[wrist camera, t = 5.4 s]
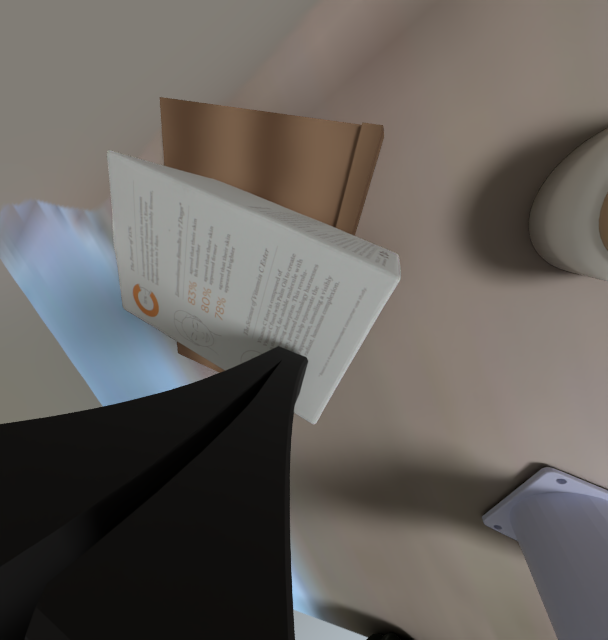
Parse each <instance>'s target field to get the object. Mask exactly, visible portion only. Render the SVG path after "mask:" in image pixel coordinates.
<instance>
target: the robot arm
mask: <svg viewBox="0 0 608 640" xmlns="http://www.w3.org/2000/svg"><path fill="white" fill-rule="evenodd" d="M307 364H308V359H307V357H305V356H302V355H300V354H297V353H295V352H292V351H290V350H287V349H285V348H282V347H280V346H278V347H275V348H273V349H271V350H269V351H267V352H265V353H263V354H261V355H259V356H257V357H254V358H252V359H250V360H248V361H246V362H244V363H241V364H239V365H237V366H235V367H233V368H230V369H228V370H225V371H223V372H220V373H218V374H215V375H213V376H210V377H208V378H205V379H203V380H200V381H197V382H194V383H191V384H188V385H185V386H182V387H178V388H175V389H172V390H169V391H165V392H162V393H158V394H154V395H150V396H146V397H142V398H138V399H134V400H130V401H126V402H122V403H118V404H113V405H109V406H104V407H99V408H94V409H89V410H84V411H80V412H74V413H68V414H63V415H57V416H51V417H46V418H39V419H32V420H26V421H19V422H12V423H6V424H0V640H295V634H294V616H293V597H292V576H291V549H290V451H291V435H292V423H293V415H294V407H295V403H296V401H297V398H298V396H299V394H300V390H301V386H302V383H303V379H304V375H305V372H306V368H307ZM482 520H483V523H484V524H485V525H486V526H488V527H490V528H492V529H494V530H496V531H498V532H500V533H502V534H504V535H506V536H508V537H510V538H512V539H514V540H516V541H518V542H519V545H520V547H521V550H522V552H523V555H524V557H525V560H526V562H527V564H528V567H529V569H530V572H531V574H532V577H533V579H534V582H535V584H536V587H537V589H538V592H539V594H540V596H541V599H542V601H543V604H544V606H545V609H546V611H547V614H548V616H549V619H550V621H551V624H552V626H553V628H554V631H555V633H556V636H557V638H558V640H608V490H605V489H603V488H601V487H598V486H596V485H593V484H591V483H588V482H586V481H584V480H581V479H579V478H576V477H574V476H571V475H569V474H567V473H564V472H562V471H559V470H557V469H554V468H551V467H545V468H542V469H540V470H539V471H538V472H537V473H536V474H534V475H533V476H532V477H531V478H529V479H528V480H527V481H526V482H524V483H523V484H522V485H521V486H519V487H518V488H517V489H516V490H514V491H513V492H512V493H511V494H509V495H508V496H507V497H506V498H504V499H503V500H502V501H501V502H499V503H498V504H497V505H496V506H494V507H493V508H492V509H491V510H489V511H488V512H487V513H486V514H484V515H483V516H482Z"/></svg>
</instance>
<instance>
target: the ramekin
mask: <svg viewBox="0 0 608 640" xmlns="http://www.w3.org/2000/svg"><path fill="white" fill-rule="evenodd" d="M529 235H530V239H531V242H532V244H533V246H534V248H535V250H536V251H537V253H538V254H539V255H540V256H541V257H542V258H543V259H544V260H545V261H547V262H548V263H550V264H551V265H553V266H555V267H557V268H559V269H562V270H565V271H569V272H572V273H576V274H580V275H584V276H588V277H592V278H596V279H600V280H604V281H608V128H607V129H605V130H603V131H602V132H600V133H598V134H597V135H595V136H593V137H592V138H590V139H589V140H587V141H586V142H584V143H583V144H582V145H580V146H579V147H578V148H576V149H575V150H574V151H573V152H572V153H570V154H569V155H568V156H567V157H566V158H565V159H564V160H563V161H562V162H561V163H560V164H559V165H558V166H557V167H556V168H555V169H554V170H553V172H552V173H551V174H550V175H549V176H548V178H547V179H546V181H545V182H544V183H543V185H542V186H541V188H540V190H539V192H538V194H537V195H536V197H535V200H534V202H533V205H532V208H531V212H530V216H529Z"/></svg>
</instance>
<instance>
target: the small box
mask: <svg viewBox="0 0 608 640" xmlns="http://www.w3.org/2000/svg"><path fill="white" fill-rule="evenodd" d="M107 160H108V170H109V179H110V193H111V203H112V215H113V223H112V224H113V240H114V248H115V253H116V259H117V265H118V272H119V281H120V289H121V298H122V304H123V308H124V309H125V310H126V311H128V312H130V313H131V314H133V315H135V316H136V317H138V318H140V319H141V320H143V321H145V322H146V323H148V324H150V325H151V326H153V327H155V328H156V329H158V330H159V331H161V332H163V333H164V334H166V335H168V336H169V337H171V338H173V339H174V340H176V341H177V342H179V343H181V344H182V345H184V346H186V347H187V348H189V349H190V350H192V351H194V352H195V353H197V354H199V355H200V356H202V357H204V358H205V359H207V360H208V361H210V362H212V363H213V364H215V365H217V366H218V367H220V368H222V369H223V370H228V369H230V368H233V367H235V366H237V365H239V364H241V363H244V362H246V361H248V360H250V359H252V358H254V357H257V356H259V355H261V354H263V353H265V352H267V351H269V350H271V349H273V348H275V347H278V346H280V347H282V348H285V349H287V350H290V351H292V352H295V353H297V354H300V355H302V356H305V357H307V359H308V364H307V368H306V372H305V375H304V379H303V383H302V386H301V390H300V394H299V396H298V398H297V401H296V403H295V407H294V413H295V414H297V415H298V416H300V417H302V418H303V419H305V420H306V421H308V422H310V423H312V424H315V423H316V422H317V421H318V419H319V417H320V415H321V413H322V412H323V410H324V408H325V406H326V405H327V403H328V401H329V399H330V398H331V396H332V394H333V392H334V391H335V389H336V387H337V386H338V384H339V382H340V380H341V379H342V377H343V375H344V373H345V372H346V370H347V368H348V366H349V365H350V363H351V361H352V360H353V358H354V356H355V355H356V353H357V351H358V350H359V348H360V346H361V344H362V343H363V341H364V339H365V338H366V336H367V334H368V333H369V331H370V329H371V327H372V326H373V324H374V322H375V321H376V319H377V317H378V315H379V314H380V312H381V310H382V309H383V307H384V305H385V304H386V302H387V301H388V299H389V297H390V296H391V294H392V292H393V291H394V289H395V288H396V286H397V284H398V283H399V281H400V279H401V268H400V260H399V255H398V254H397V253H395V252H392V251H390V250H387V249H385V248H383V247H380V246H378V245H375V244H373V243H371V242H368V241H366V240H363V239H361V238H359V237H356V236H354V235H351V234H349V233H347V232H344V231H342V230H340V229H337V228H335V227H332V226H330V225H328V224H325V223H323V222H320V221H318V220H315V219H313V218H310V217H308V216H305V215H302V214H300V213H297V212H295V211H293V210H290V209H288V208H285V207H283V206H280V205H278V204H276V203H273V202H271V201H268V200H266V199H263V198H261V197H258V196H256V195H253V194H251V193H248V192H246V191H243V190H241V189H238V188H236V187H233V186H231V185H228V184H226V183H223V182H221V181H218V180H215V179H212V178H207V177H203V176H200V175H196V174H192V173H189V172H185V171H181V170H178V169H174V168H170V167H167V166H163V165H160V164H156V163H153V162H149V161H146V160H142V159H138V158H135V157H131V156H128V155H124V154H121V153H117V152H115V151H111V150H109V151H108V152H107Z"/></svg>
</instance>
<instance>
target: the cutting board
mask: <svg viewBox="0 0 608 640" xmlns="http://www.w3.org/2000/svg"><path fill="white" fill-rule="evenodd" d="M160 108H161V122H162V136H163V150H164V165H165V166H167V167H170V168H174V169H178V170H181V171H185V172H189V173H192V174H196V175H200V176H203V177H207V178H212V179H215V180H218V181H221V182H223V183H226V184H228V185H231V186H233V187H236V188H238V189H241V190H243V191H246V192H248V193H251V194H253V195H256V196H258V197H261V198H263V199H266V200H268V201H271V202H273V203H276V204H278V205H280V206H283V207H285V208H288V209H290V210H293V211H295V212H297V213H300V214H302V215H305V216H308V217H310V218H313V219H315V220H318V221H320V222H323V223H325V224H328V225H330V226H332V227H335V228H337V229H340V230H342V231H344V232H347V233H349V234H351V235H354V236H355V233H356V229H357V226H358V223H359V219H360V216H361V213H362V209H363V206H364V202H365V199H366V196H367V192H368V189H369V186H370V182H371V179H372V176H373V172H374V169H375V165H376V162H377V159H378V155H379V152H380V149H381V145H382V142H383V138H384V129H383V125H376V124H369V123H362V125H359V124H351V123H344V122H337V121H330V120H322V119H315V118H308V117H300V116H293V115H286V114H279V113H271V112H264V111H257V110H250V109H242V108H235V107H228V106H221V105H213V104H206V103H199V102H191V101H183V100H177V99H169V98H162V97H160ZM177 347H178V353H179V354H181V355H183V356H185V357H187V358H190V359H192V360H194V361H196V362H198V363H200V364H203V365H205V366H207V367H209V368H211V369H213V370H216V371H218V372H223V371H225V370H223V369H222V368H220V367H218V366H217V365H215V364H213V363H212V362H210V361H208V360H207V359H205V358H204V357H202V356H200V355H199V354H197V353H195V352H194V351H192V350H190V349H189V348H187V347H186V346H184V345H182V344H181V343H179V342H177Z"/></svg>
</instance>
